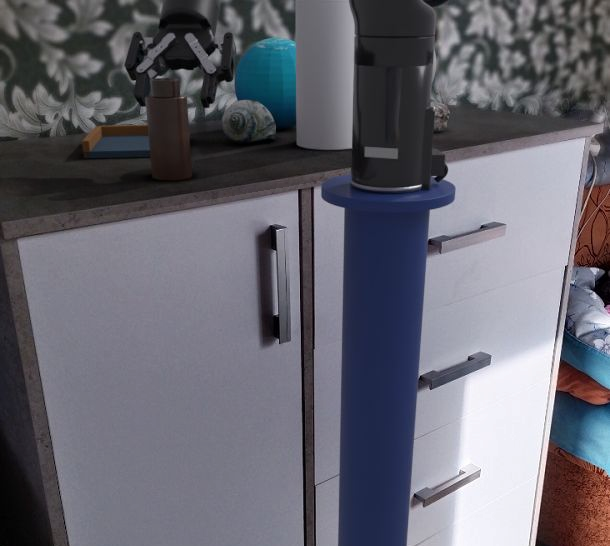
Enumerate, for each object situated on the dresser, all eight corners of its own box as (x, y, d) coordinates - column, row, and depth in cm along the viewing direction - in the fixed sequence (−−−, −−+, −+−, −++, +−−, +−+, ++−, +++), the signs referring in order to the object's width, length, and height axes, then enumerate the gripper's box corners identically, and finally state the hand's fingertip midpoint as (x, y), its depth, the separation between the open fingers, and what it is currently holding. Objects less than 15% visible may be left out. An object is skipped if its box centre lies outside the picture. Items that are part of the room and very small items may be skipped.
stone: (362, 129, 133) (404, 139, 127) (367, 94, 131) (410, 103, 124) (413, 130, 142) (455, 139, 135) (419, 97, 139) (461, 105, 132)
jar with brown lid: (192, 172, 103) (186, 77, 98) (191, 180, 99) (185, 81, 93) (153, 173, 103) (145, 77, 97) (150, 181, 98) (141, 81, 93)
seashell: (283, 148, 128) (228, 157, 120) (256, 125, 131) (200, 131, 123) (295, 113, 124) (238, 120, 116) (266, 90, 127) (209, 95, 119)
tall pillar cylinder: (376, 143, 123) (383, -33, 111) (330, 152, 116) (332, -35, 105) (328, 136, 129) (330, -31, 118) (282, 144, 123) (279, -33, 112)
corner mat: (189, 139, 127) (188, 123, 126) (186, 156, 114) (185, 138, 113) (97, 141, 126) (95, 125, 125) (84, 158, 112) (81, 140, 111)
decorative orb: (232, 124, 143) (229, 36, 136) (312, 121, 145) (312, 35, 138) (240, 136, 129) (236, 40, 123) (327, 134, 132) (328, 39, 125)
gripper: (133, -18, 102) (110, 83, 96) (237, -19, 100) (220, 84, 94) (150, 25, 109) (129, 120, 104) (248, 25, 107) (232, 123, 102)
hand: (172, 103), depth 99 cm, fingers open, 8 cm apart
